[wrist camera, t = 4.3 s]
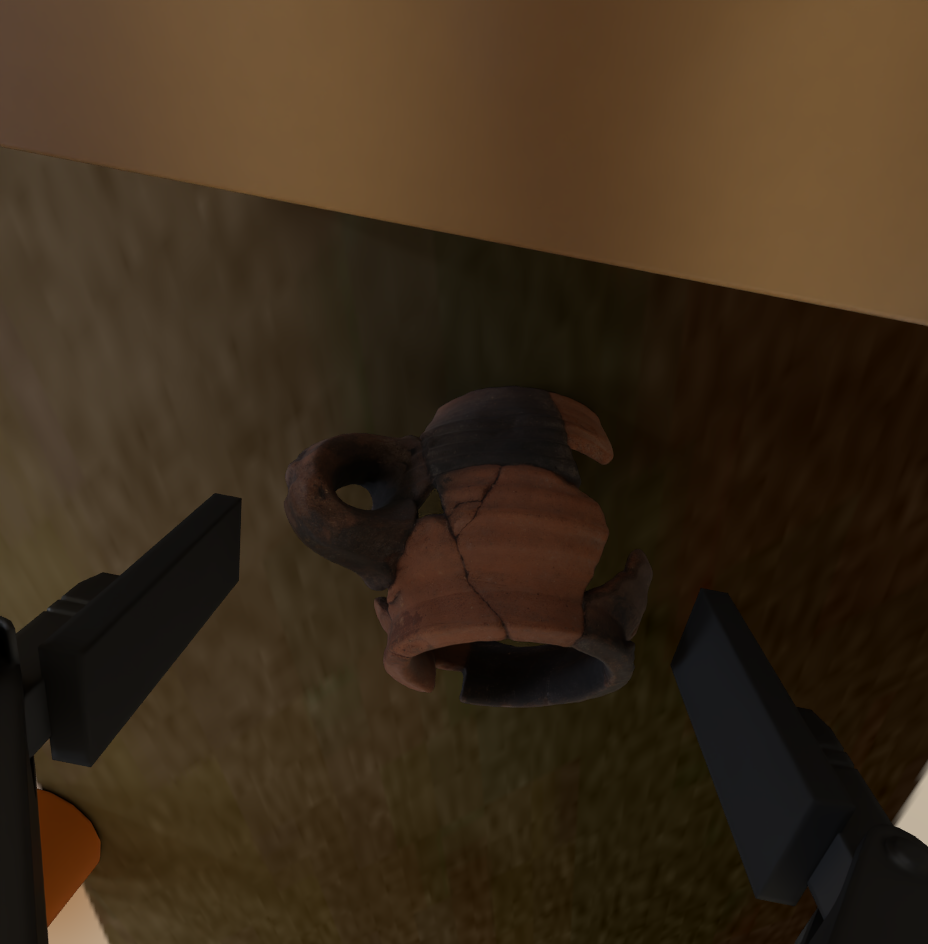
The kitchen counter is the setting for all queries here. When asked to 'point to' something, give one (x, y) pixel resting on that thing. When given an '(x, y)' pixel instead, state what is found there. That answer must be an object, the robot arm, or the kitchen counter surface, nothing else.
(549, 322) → the kitchen counter surface
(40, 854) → the robot arm
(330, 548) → the pottery mug
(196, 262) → the kitchen counter surface
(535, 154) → the tan open box
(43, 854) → the spray bottle
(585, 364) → the kitchen counter surface
